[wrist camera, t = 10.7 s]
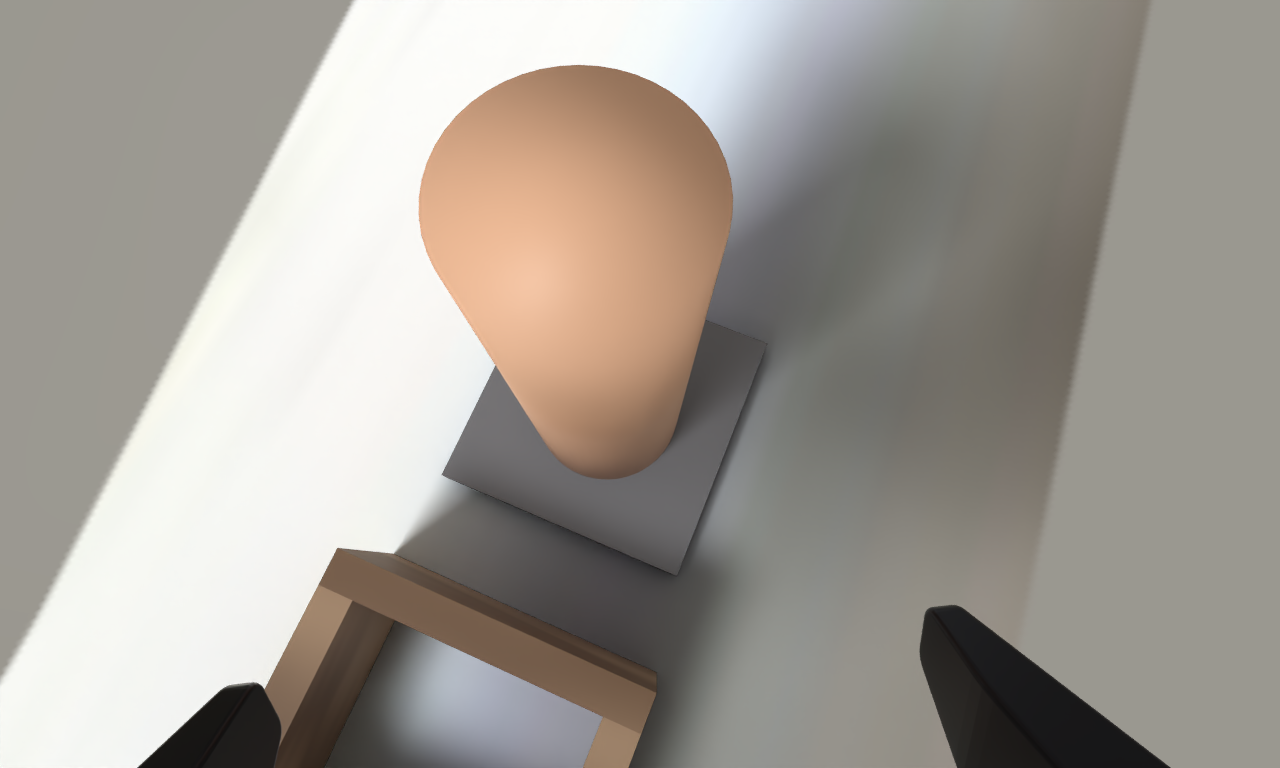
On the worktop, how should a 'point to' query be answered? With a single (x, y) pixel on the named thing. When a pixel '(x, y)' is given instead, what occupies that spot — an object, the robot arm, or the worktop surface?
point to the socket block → (456, 615)
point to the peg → (582, 252)
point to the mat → (626, 507)
